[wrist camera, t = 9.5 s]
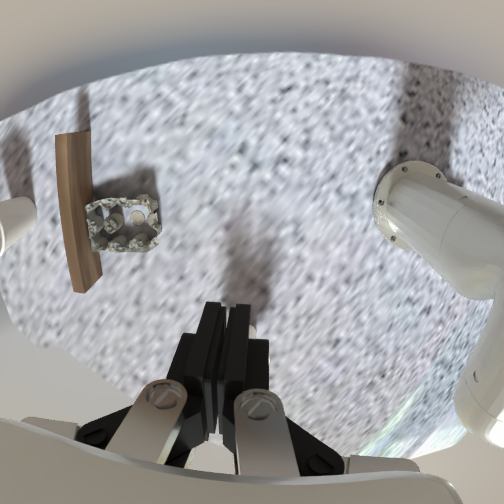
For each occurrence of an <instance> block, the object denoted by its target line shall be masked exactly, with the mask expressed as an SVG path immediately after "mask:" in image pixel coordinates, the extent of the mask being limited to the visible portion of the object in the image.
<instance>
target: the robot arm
mask: <svg viewBox="0 0 504 504" xmlns="http://www.w3.org/2000/svg"><path fill="white" fill-rule="evenodd" d="M402 167H403V170H402ZM379 200H381V201H380V203H378V202H379ZM373 213H374V219H375V222H376V225H377V228H378V229H379V231H380V233H381V234H382V235H383V237H384V238H385V239H386V240H387V241H388V242H389V243H390V244H392V245H394V246H396V247H397V248H401V249H404V250H415V251H416V252H417V253H418V254H419V255H420V256H421V257H422V258H423V259H424V260H425V261H426V262H427V263H428V264H429V265H430V266H431V267H432V268H433V269H434V270H435V271H436V272H437V273H438V274H439V275H440V276H441V277H442V278H443V279H444V280H445V281H446V282H447V283H448V284H449V285H450V286H451V287H452V288H453V289H454V290H456V291H457V292H458V293H459V294H461V295H462V296H464V297H466V298H469V299H472V300H489V299H494V301H493V305H492V308H491V311H490V314H489V316H488V319H487V321H486V325H485V327H484V329H483V332H482V334H481V336H480V338H479V340H478V342H477V344H476V346H475V348H474V350H473V352H472V354H471V356H470V358H469V360H468V362H467V364H466V366H465V368H464V370H463V372H462V374H461V376H460V378H459V381H458V383H457V386H456V390H455V394H454V406H455V411H456V414H457V416H458V418H459V420H460V422H461V423H462V424H463V426H464V427H465V428H466V429H467V430H468V431H469V432H470V433H472V434H473V435H474V436H476V437H477V438H479V439H480V440H482V441H484V442H486V443H488V444H491V445H494V446H496V447H499V448H502V449H504V205H502V204H500V203H497V202H495V201H493V200H491V199H488V198H486V197H483V196H481V195H479V194H476V193H474V192H471V191H469V190H467V189H464V188H462V187H459V186H457V185H454V184H451V183H449V182H448V181H447V179H446V178H445V176H444V175H443V173H442V172H441V171H440V170H439V169H438V168H436V167H435V166H433V165H431V164H429V163H426V162H423V161H418V160H409V161H405V162H402V163H400V164H398V165H396V166H394V167H393V168H392V169H390V170H389V171H388V172H387V173H386V174H385V176H384V177H383V178H382V180H381V181H380V183H379V185H378V187H377V190H376V192H375V197H374V202H373ZM391 237H392V238H391ZM250 309H251V305H248V304H236V307H230V312H229V317H228V323H227V328H226V307H223V306H221V303H220V302H208V301H207V302H206V304H205V307H204V310H203V313H202V317H201V320H200V323H199V326H198V329H197V332H196V334H192V333H183V334H182V336H181V339H180V342H179V344H178V347H177V350H176V352H175V355H174V358H173V361H172V363H171V366H170V369H169V372H168V374H167V377H166V379H160V380H156V381H153V382H151V383H149V384H148V385H146V387H145V388H144V389H143V390H142V392H141V393H140V395H139V396H138V398H137V399H136V401H135V403H134V404H133V405H131V406H129V407H126V408H124V409H122V410H119V411H117V412H114V413H112V414H109V415H107V416H104V417H102V418H99V419H97V420H94V421H91V422H89V423H87V424H85V425H83V426H78V424H77V423H71V422H63V421H55V420H49V419H43V418H37V417H27V418H24V419H23V420H21V421H17V420H12V419H5V418H0V504H463V503H462V500H461V498H460V496H459V494H458V493H457V491H456V489H455V488H454V487H453V486H452V485H451V484H450V483H449V482H448V481H447V480H445V479H443V478H441V477H438V476H435V475H431V474H426V473H421V472H420V470H419V467H418V466H417V464H416V463H415V462H413V461H411V460H410V459H405V458H385V457H370V456H359V455H350V457H343V456H340V455H339V454H338V453H337V452H336V451H334V450H333V449H331V448H330V447H328V446H327V445H325V444H324V443H322V442H321V441H319V440H318V439H317V438H315V437H314V436H312V435H311V434H309V433H308V432H307V431H305V430H304V429H302V428H301V427H300V426H298V425H297V424H295V423H294V422H293V421H291V420H290V419H289V418H287V417H286V416H285V412H284V408H283V404H282V402H281V400H280V398H279V397H278V396H277V395H276V394H274V393H273V392H271V391H269V340H267V339H250V338H249V326H250ZM217 417H218V419H219V434H223V445H224V446H225V447H227V448H228V449H229V450H230V451H231V452H232V453H233V462H234V473H235V475H232V474H222V473H213V472H204V471H197V470H190V469H188V468H189V466H190V463H191V461H192V458H193V456H194V453H195V448H196V446H198V445H200V444H202V443H203V442H204V441H208V438H209V433H213V434H215V430H216V424H217Z"/></svg>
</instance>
